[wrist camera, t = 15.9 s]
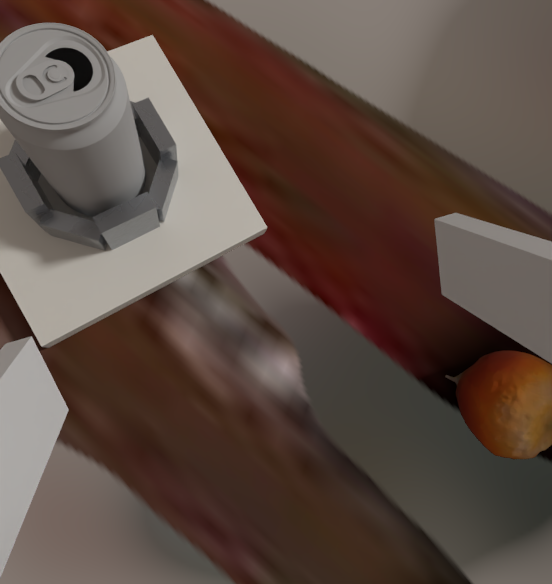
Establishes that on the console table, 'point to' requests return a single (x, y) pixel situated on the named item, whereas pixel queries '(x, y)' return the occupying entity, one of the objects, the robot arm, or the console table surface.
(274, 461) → the console table surface
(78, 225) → the collar
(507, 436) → the fruit
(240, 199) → the board
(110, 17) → the console table surface
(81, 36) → the beverage can
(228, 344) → the console table surface
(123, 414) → the console table surface
